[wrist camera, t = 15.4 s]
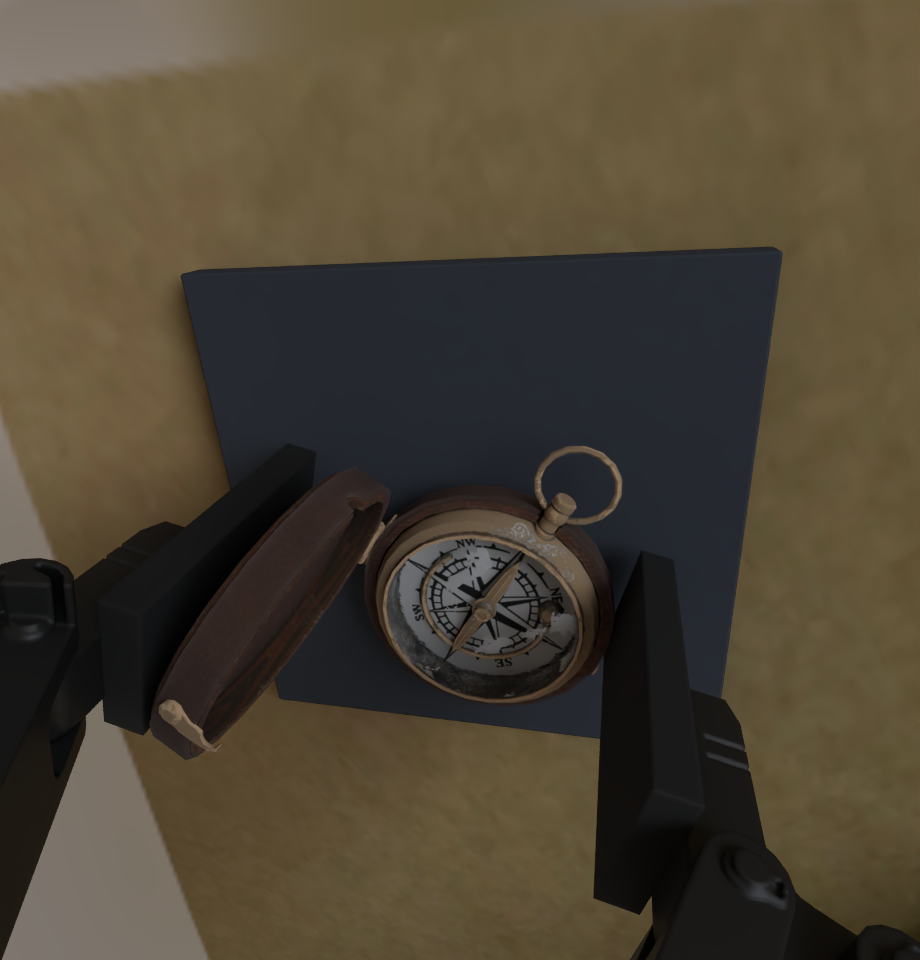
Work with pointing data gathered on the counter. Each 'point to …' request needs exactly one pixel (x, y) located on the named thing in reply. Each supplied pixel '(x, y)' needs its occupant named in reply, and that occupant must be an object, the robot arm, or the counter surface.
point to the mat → (506, 422)
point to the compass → (404, 598)
